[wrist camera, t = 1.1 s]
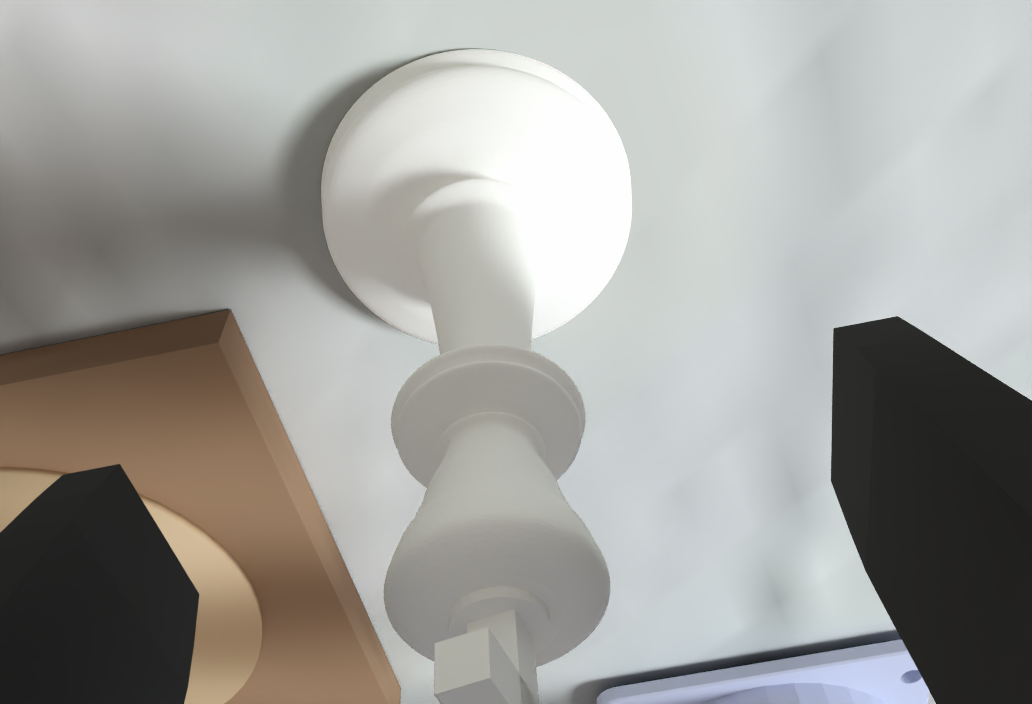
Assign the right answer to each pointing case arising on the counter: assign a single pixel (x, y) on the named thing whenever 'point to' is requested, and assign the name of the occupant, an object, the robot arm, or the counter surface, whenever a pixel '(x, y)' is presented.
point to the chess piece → (483, 345)
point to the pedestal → (203, 501)
